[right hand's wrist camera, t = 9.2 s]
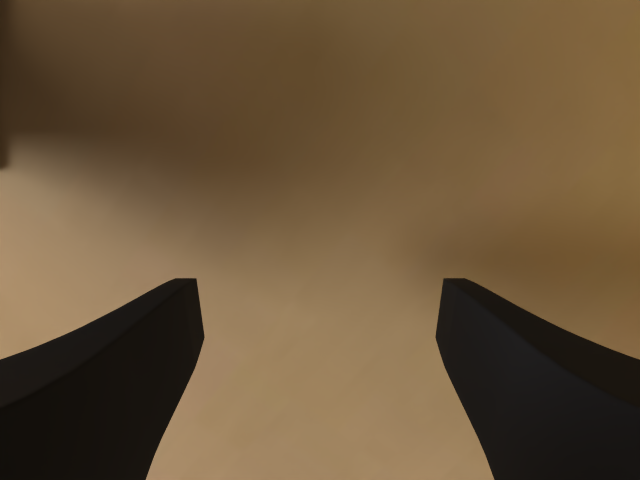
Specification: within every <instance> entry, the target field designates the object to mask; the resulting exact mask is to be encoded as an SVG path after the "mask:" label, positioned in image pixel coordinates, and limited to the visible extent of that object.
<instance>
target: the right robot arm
mask: <svg viewBox="0 0 640 480" xmlns="http://www.w3.org/2000/svg"><path fill="white" fill-rule="evenodd" d="M203 341H204V330H203V323H202V316H201V308H200V301H199V294H198V287H197V280H196V278H175V279H173V280H170V281H168V282H166V283H164V284H162V285H160V286H158V287H156V288H154V289H153V290H151V291H149V292H147V293H145V294H143V295H142V296H140V297H138V298H136V299H134V300H133V301H131V302H129V303H127V304H125V305H123V306H122V307H120V308H118V309H116V310H114V311H112V312H110V313H108V314H106V315H104V316H102V317H100V318H98V319H96V320H94V321H92V322H90V323H89V324H87V325H85V326H83V327H80V328H78V329H76V330H74V331H72V332H70V333H67V334H65V335H63V336H61V337H58V338H56V339H54V340H51V341H49V342H46V343H44V344H42V345H39V346H37V347H34V348H32V349H29V350H26V351H24V352H21V353H18V354H15V355H12V356H9V357H7V358H4V359H1V360H0V480H146V477H147V474H148V471H149V469H150V466H151V463H152V460H153V457H154V455H155V453H156V450H157V448H158V446H159V443H160V441H161V439H162V436H163V434H164V432H165V430H166V428H167V426H168V424H169V422H170V420H171V418H172V415H173V413H174V411H175V409H176V407H177V405H178V403H179V401H180V399H181V397H182V395H183V393H184V390H185V388H186V386H187V384H188V382H189V380H190V378H191V375H192V373H193V371H194V369H195V366H196V363H197V360H198V357H199V354H200V351H201V347H202V344H203ZM436 341H437V344H438V347H439V351H440V354H441V357H442V360H443V363H444V366H445V369H446V371H447V373H448V375H449V378H450V380H451V382H452V384H453V386H454V388H455V390H456V393H457V395H458V397H459V399H460V401H461V403H462V405H463V407H464V409H465V411H466V413H467V415H468V418H469V420H470V422H471V424H472V426H473V428H474V430H475V432H476V434H477V436H478V439H479V441H480V443H481V446H482V448H483V450H484V453H485V455H486V457H487V460H488V463H489V466H490V469H491V471H492V474H493V477H494V480H640V360H639V359H636V358H633V357H630V356H627V355H625V354H622V353H619V352H617V351H614V350H611V349H609V348H606V347H604V346H601V345H599V344H597V343H594V342H592V341H589V340H587V339H584V338H582V337H580V336H577V335H575V334H573V333H571V332H568V331H566V330H564V329H562V328H560V327H558V326H556V325H554V324H552V323H550V322H548V321H546V320H544V319H541V318H539V317H538V316H536V315H534V314H532V313H530V312H528V311H526V310H524V309H522V308H520V307H519V306H517V305H515V304H513V303H511V302H509V301H508V300H506V299H504V298H502V297H500V296H499V295H497V294H495V293H493V292H491V291H490V290H488V289H486V288H484V287H482V286H480V285H478V284H476V283H474V282H472V281H470V280H467V279H465V278H444V280H443V287H442V294H441V301H440V308H439V316H438V323H437V330H436Z"/></svg>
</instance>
